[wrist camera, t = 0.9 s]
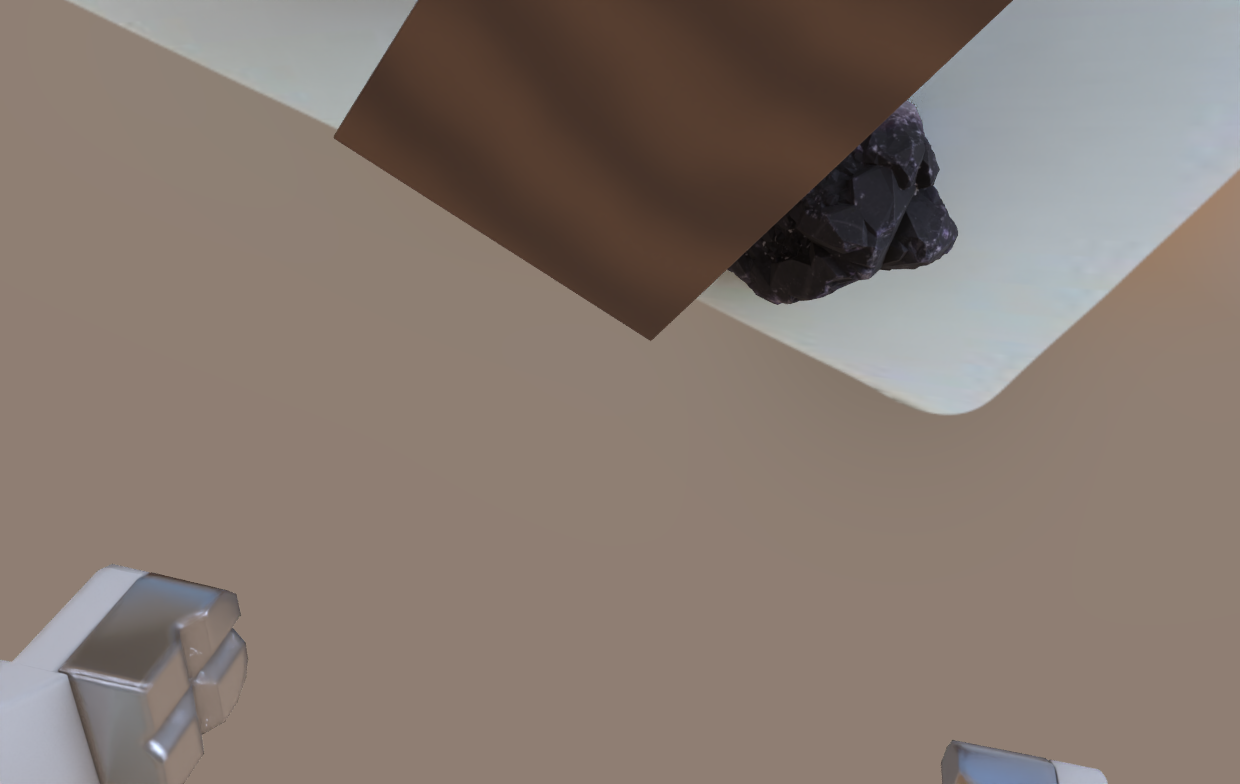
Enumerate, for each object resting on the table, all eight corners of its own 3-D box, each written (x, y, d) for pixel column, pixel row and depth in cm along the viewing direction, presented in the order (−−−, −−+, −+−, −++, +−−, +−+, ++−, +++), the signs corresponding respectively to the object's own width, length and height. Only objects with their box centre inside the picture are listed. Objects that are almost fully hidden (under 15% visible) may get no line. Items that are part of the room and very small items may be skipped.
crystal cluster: (663, 206, 65) (655, 323, 58) (764, 19, 55) (769, 136, 48) (855, 273, 68) (868, 391, 61) (984, 108, 58) (1016, 228, 52)
